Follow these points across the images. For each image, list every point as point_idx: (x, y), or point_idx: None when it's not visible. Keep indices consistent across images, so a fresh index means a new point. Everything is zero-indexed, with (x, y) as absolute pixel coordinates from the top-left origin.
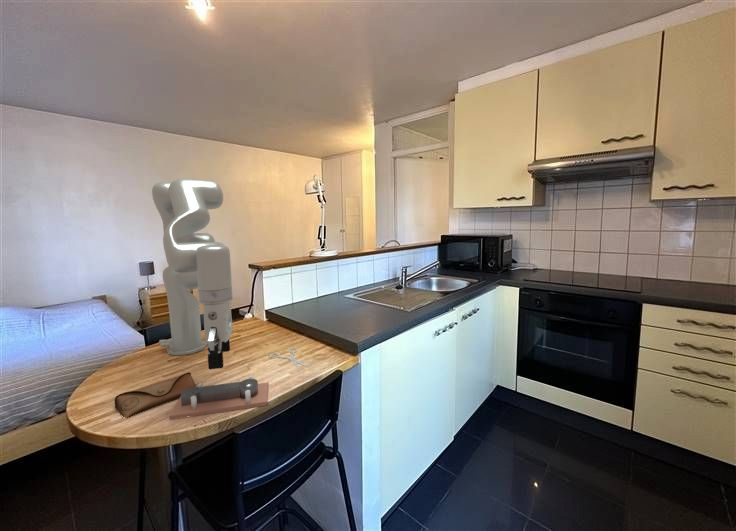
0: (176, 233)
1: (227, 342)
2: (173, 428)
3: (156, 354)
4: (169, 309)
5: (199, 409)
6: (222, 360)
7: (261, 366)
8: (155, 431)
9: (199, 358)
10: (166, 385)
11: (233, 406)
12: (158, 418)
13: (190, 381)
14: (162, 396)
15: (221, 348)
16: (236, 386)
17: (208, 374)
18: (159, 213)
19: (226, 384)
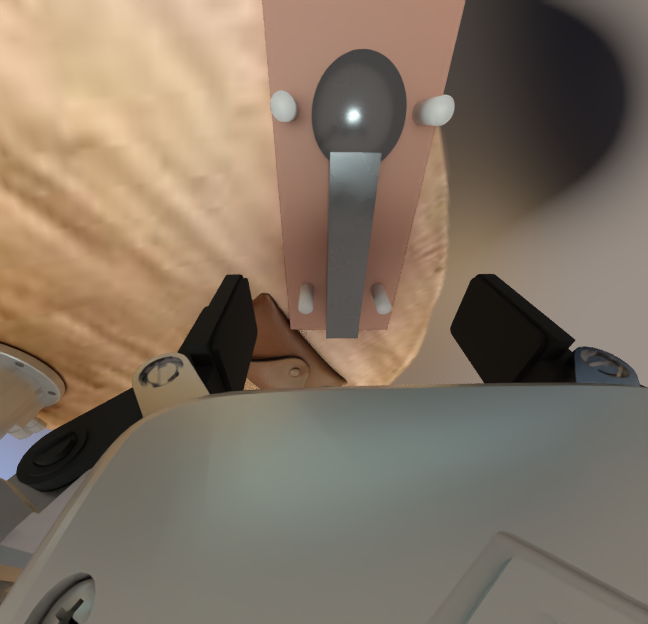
0: None
1: (231, 322)
2: (423, 308)
3: (73, 412)
4: None
5: (388, 276)
6: (520, 298)
7: (37, 63)
8: (415, 334)
9: (58, 334)
10: (277, 370)
11: (422, 176)
12: (368, 341)
13: None
14: (306, 360)
15: (250, 328)
16: (370, 177)
17: (163, 291)
18: None
19: (337, 224)
